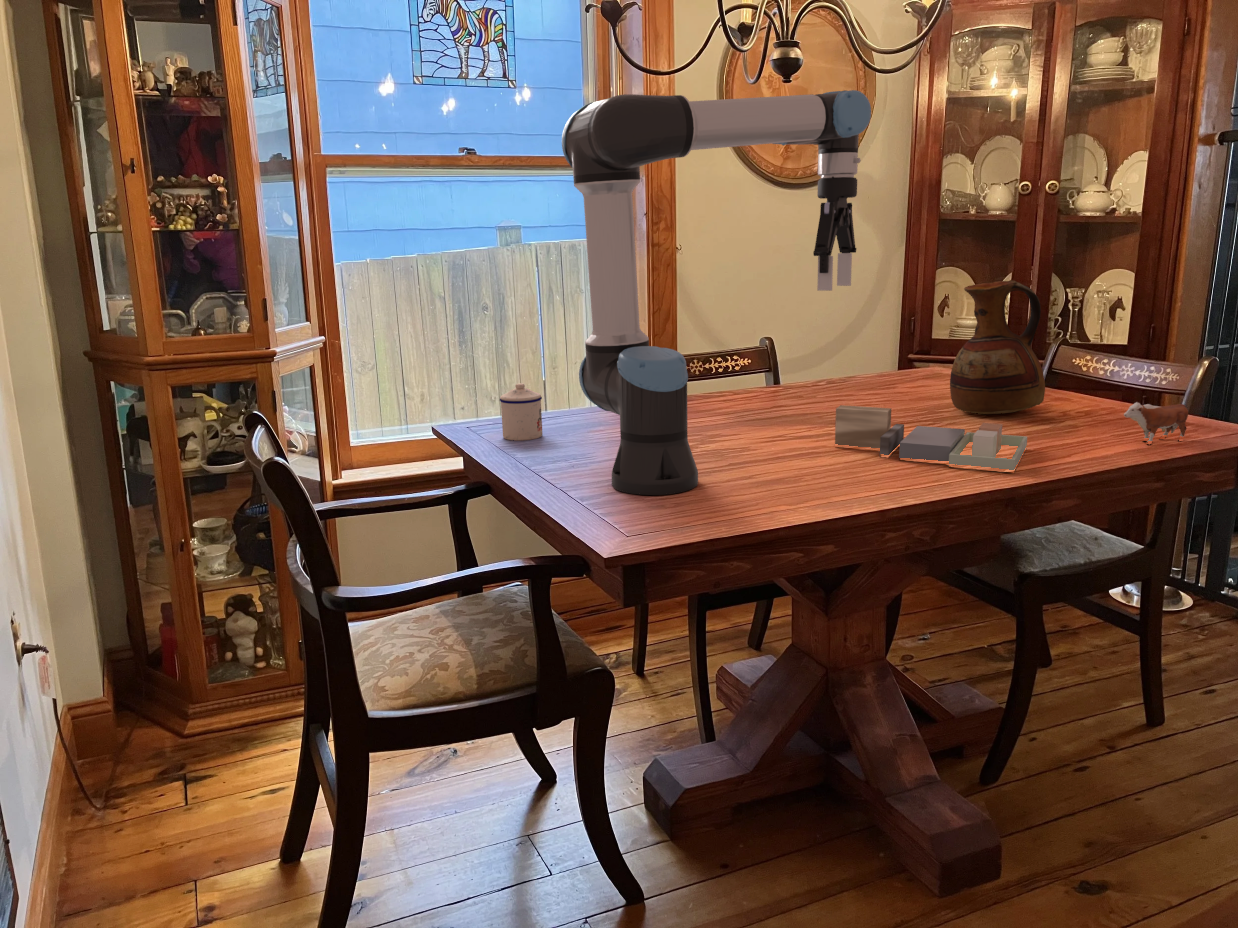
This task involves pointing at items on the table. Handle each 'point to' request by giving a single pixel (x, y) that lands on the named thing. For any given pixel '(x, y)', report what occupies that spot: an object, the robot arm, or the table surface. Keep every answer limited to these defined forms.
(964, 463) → the tray
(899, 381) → the table surface
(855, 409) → the beige slab
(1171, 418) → the bull figurine
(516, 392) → the teacup with lid
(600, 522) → the table surface
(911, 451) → the slate board
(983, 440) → the light grey block
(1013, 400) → the ceramic pitcher
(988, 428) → the reddish brown block
